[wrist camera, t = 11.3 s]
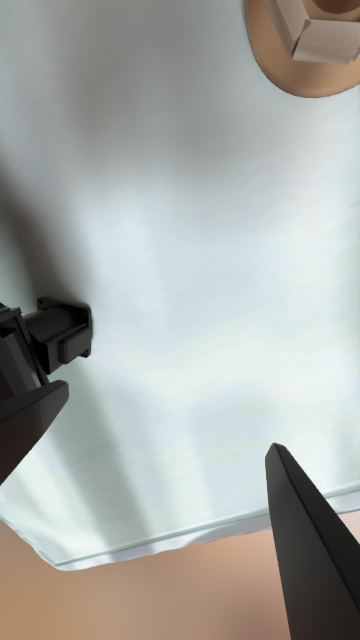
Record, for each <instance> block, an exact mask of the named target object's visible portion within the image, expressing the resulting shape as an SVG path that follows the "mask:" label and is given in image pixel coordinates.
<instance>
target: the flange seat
mask: <svg viewBox="0 0 360 640" xmlns="http://www.w3.org/2000/svg"><path fill="white" fill-rule="evenodd" d="M246 23H247V31H248V37H249V41H250V45H251V49H252V51H253V54H254V56H255V59H256V61H257V63H258V65H259V67H260V68H261V70H262V71H263V73H264V74H265V75H266V77H267V78H268V79H269V80H270V81H271V82H272V83H273V84H274V85H275V86H277V87H278V88H280V89H281V90H283V91H285V92H287V93H289V94H292V95H294V96H299V97H304V98H319V97H327V96H331V95H334V94H338V93H341V92H343V91H346V90H348V89H350V88H353V87H355V86H356V85H358V84H360V7H358V8H357V9H355V10H352V11H350V12H347V13H343V14H330V13H327V12H324V11H323V10H321V9H320V8H318V7H317V6H316V5H315V3H314V2H313V0H246Z"/></svg>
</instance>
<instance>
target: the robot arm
mask: <svg viewBox="0 0 360 640" xmlns="http://www.w3.org/2000/svg"><path fill="white" fill-rule="evenodd" d="M42 301H43V302H42ZM37 306H38V311H36V312H34V313H31V314H28V315H25V316H22V315H21V313H22V312H21V310H20V307H17V308H10V307H7V306H5V305H3V304H2V303H0V486H1V484H2V483H3V482H4V481H5V480H6V479H7V477H8V476H9V475H10V474H11V473H12V471H13V470H14V469H15V468H16V467H17V465H18V464H19V463H20V462H21V461H22V460H23V458H24V457H25V456H26V455H27V454H28V452H29V451H30V450H31V449H32V448H33V446H34V445H35V444H36V443H37V442H38V441H39V439H40V438H41V437H42V436H43V434H44V433H45V432H46V430H47V429H48V428H49V426H50V425H51V423H52V422H53V421H54V419H55V418H56V416H57V415H58V413H59V412H60V411H61V409H62V408H63V406H64V405H65V404H66V402H67V400H68V398H69V385H68V382H66V381H63V380H56V381H54V382H51V383H50V382H49V380H48V377H47V375H50V374H51V373H52V372H54V371H55V370H56V369H58V368H59V367H60V366H62V365H63V364H66V365H67V364H68V363H70V362H71V361H72V360H74V359H75V358H76V357H77V356H81V357H84V358H87V357H88V356H90V352H91V311H90V309H89V308H87V307H83V306H78V305H74V304H70V303H66V302H62V301H58V300H54V299H50V298H46V297H40V298H38V299H37ZM85 311H86V312H87V314H86V313H85ZM265 467H266V480H267V492H268V504H269V512H270V519H271V524H272V530H273V536H274V542H275V548H276V554H277V560H278V566H279V572H280V577H281V583H282V589H283V595H284V601H285V607H286V613H287V619H288V624H289V630H290V636H291V640H360V544H359V543H358V542H357V540H356V539H355V537H354V536H353V535H352V534H351V532H350V531H349V530H348V528H347V527H346V526H345V524H344V523H343V522H342V520H341V519H340V518H339V516H338V515H337V514H336V513H335V511H334V510H333V509H332V507H331V506H330V505H329V503H328V502H327V501H326V499H325V498H324V497H323V495H322V494H321V493H320V492H319V490H318V489H317V488H316V486H315V485H314V484H313V482H312V481H311V480H310V478H309V477H308V476H307V474H306V473H305V472H304V471H303V469H302V468H301V467H300V465H299V464H298V463H297V461H296V460H295V459H294V457H293V456H292V455H291V453H290V452H289V451H288V450H287V448H286V447H285V446H284V445H281V444H278V443H272V445H271V447H270V449H269V450H268V452H267V454H266V457H265Z"/></svg>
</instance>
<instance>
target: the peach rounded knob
mask: <svg viewBox="0 0 360 640" xmlns="http://www.w3.org/2000/svg"><path fill="white" fill-rule="evenodd" d="M313 2H314V3H315V5H316V6H317V7H318V8H320V9H321V10H323V11H324V12H327V13H330V14H343V13H347V12H350V11H352V10H355V9H357V8H358V7H360V0H313Z"/></svg>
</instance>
